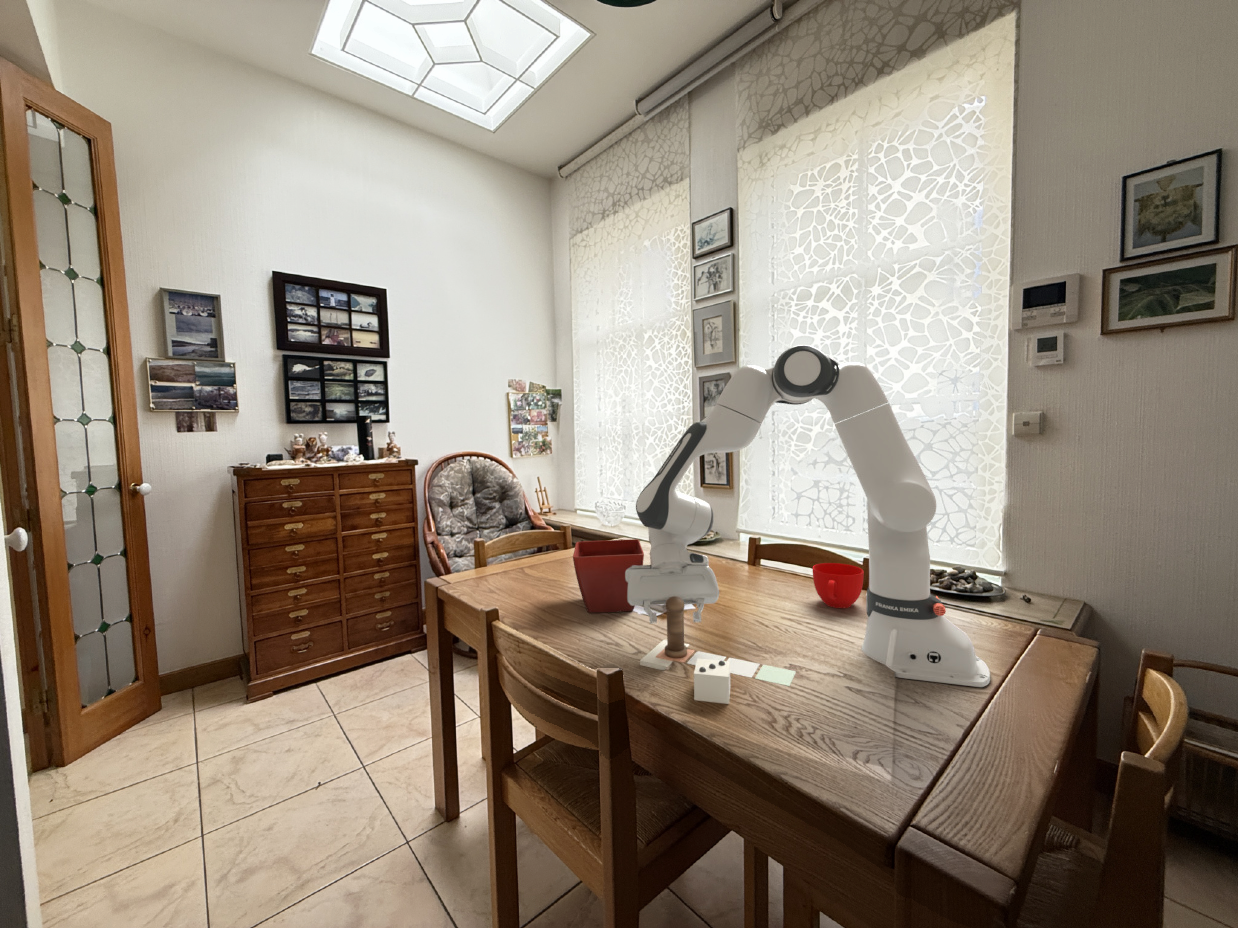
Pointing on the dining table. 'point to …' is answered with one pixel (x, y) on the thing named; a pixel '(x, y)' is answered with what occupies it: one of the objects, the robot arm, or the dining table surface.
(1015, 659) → the dining table surface
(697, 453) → the robot arm
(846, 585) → the ceramic cup
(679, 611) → the pawn
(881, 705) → the dining table surface
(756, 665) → the game board
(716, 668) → the die
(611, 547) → the plant pot
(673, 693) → the dining table surface
